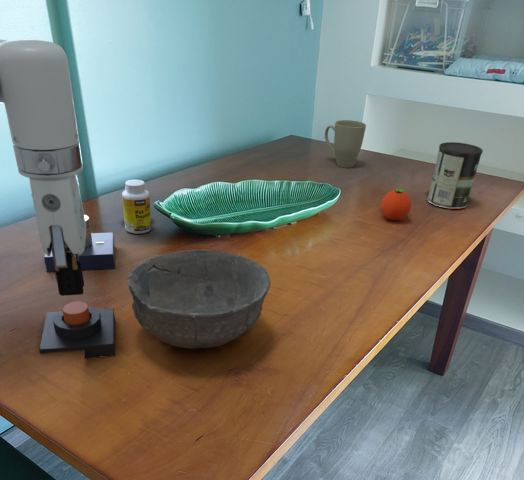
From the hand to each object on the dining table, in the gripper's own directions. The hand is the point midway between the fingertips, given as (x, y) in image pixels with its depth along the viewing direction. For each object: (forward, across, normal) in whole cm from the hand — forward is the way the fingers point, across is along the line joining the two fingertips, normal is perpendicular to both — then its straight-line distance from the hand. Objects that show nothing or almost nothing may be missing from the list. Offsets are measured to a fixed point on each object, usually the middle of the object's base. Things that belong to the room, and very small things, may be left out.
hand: (72, 290), depth 76 cm
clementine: (+9, +42, -70) cm, 82 cm away
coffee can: (+9, +51, -89) cm, 103 cm away
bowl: (+9, -1, -18) cm, 20 cm away
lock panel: (+9, +28, +1) cm, 29 cm away
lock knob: (+5, +28, +1) cm, 29 cm away
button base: (+9, 0, 0) cm, 9 cm away
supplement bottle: (+9, +41, -10) cm, 43 cm away
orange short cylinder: (+5, 0, 0) cm, 5 cm away
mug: (+9, +85, -72) cm, 112 cm away
